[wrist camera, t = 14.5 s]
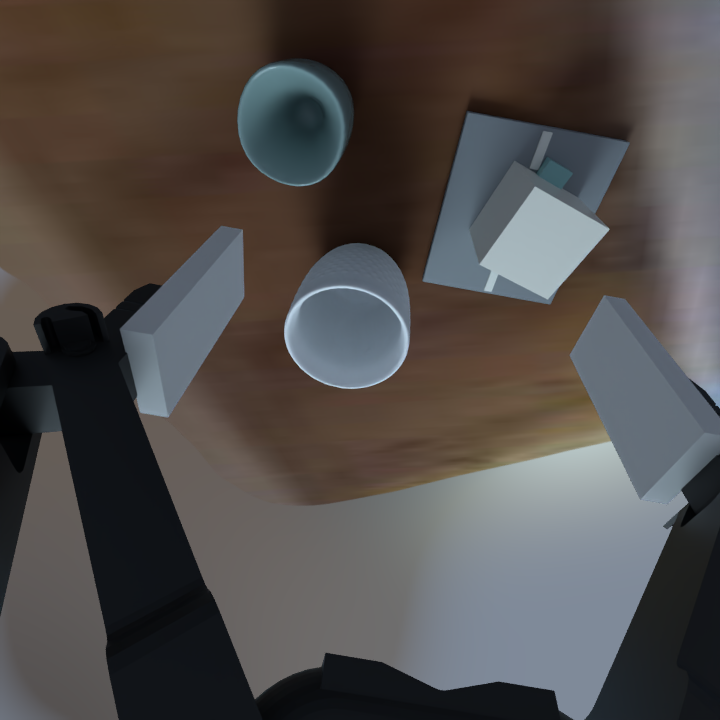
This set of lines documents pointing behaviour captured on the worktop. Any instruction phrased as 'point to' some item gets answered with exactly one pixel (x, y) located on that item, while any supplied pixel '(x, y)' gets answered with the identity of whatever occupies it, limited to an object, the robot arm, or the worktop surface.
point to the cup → (295, 120)
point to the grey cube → (535, 228)
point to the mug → (350, 318)
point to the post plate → (484, 173)
